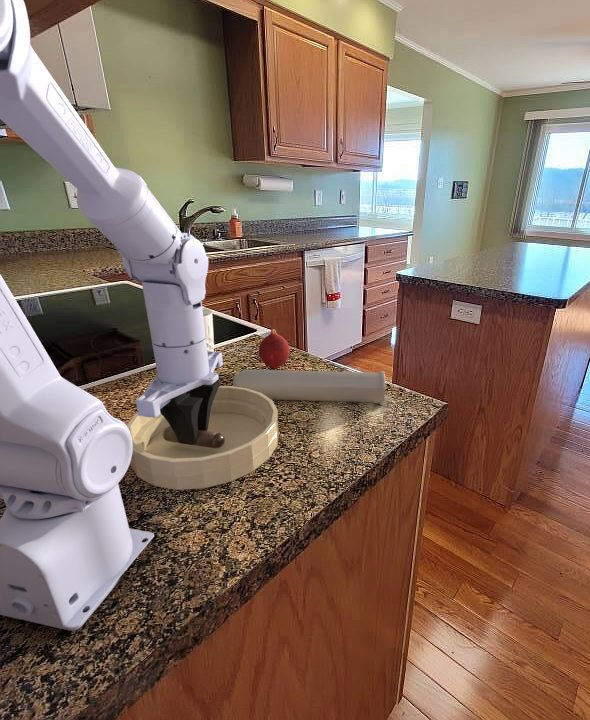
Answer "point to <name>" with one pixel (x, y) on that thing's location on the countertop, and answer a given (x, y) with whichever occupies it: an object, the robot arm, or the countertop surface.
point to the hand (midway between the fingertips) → (193, 437)
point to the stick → (203, 438)
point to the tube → (314, 385)
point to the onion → (274, 350)
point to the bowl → (203, 464)
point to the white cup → (208, 329)
